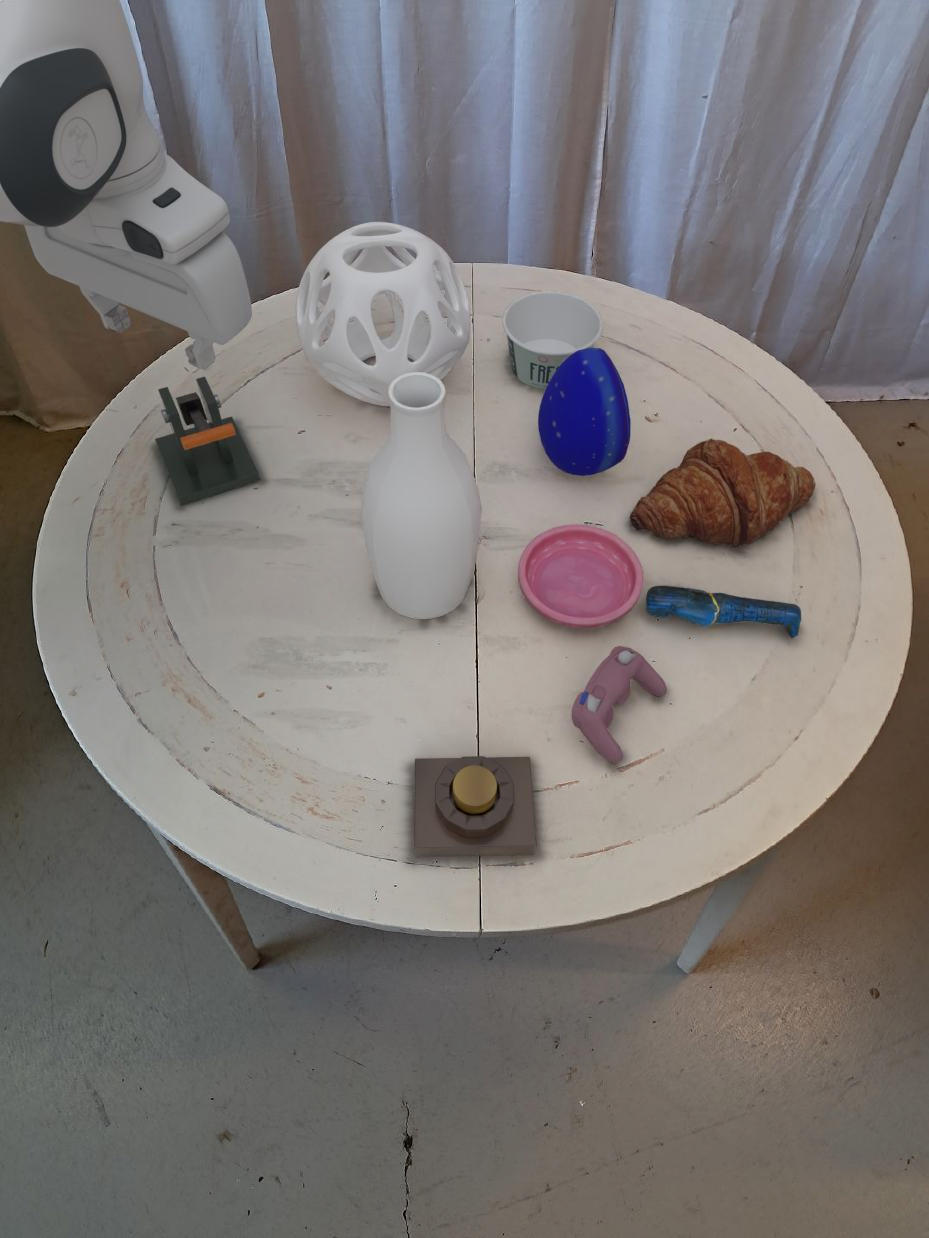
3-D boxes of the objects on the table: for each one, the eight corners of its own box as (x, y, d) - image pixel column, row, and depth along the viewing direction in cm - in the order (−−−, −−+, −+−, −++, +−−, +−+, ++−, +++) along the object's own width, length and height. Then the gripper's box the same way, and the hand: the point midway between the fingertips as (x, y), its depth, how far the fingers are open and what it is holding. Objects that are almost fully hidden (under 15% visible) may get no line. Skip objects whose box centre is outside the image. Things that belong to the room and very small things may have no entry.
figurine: (791, 620, 89) (641, 604, 90) (801, 589, 87) (647, 573, 88) (799, 649, 85) (642, 632, 87) (809, 617, 83) (648, 601, 84)
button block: (415, 857, 74) (413, 839, 70) (415, 769, 78) (414, 748, 75) (534, 854, 74) (538, 837, 71) (528, 767, 78) (531, 747, 75)
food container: (576, 328, 114) (583, 283, 109) (609, 388, 108) (618, 344, 102) (487, 343, 112) (489, 298, 107) (516, 405, 106) (519, 360, 100)
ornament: (633, 485, 98) (660, 378, 86) (557, 504, 96) (574, 398, 84) (593, 420, 104) (613, 311, 92) (521, 437, 102) (531, 329, 90)
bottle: (367, 547, 93) (344, 347, 72) (473, 540, 93) (480, 341, 73) (370, 634, 86) (346, 443, 65) (483, 627, 87) (495, 436, 66)
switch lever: (238, 442, 85) (231, 418, 83) (187, 457, 83) (178, 433, 82) (215, 409, 95) (208, 388, 94) (170, 423, 94) (162, 401, 93)
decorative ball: (481, 426, 103) (486, 296, 89) (311, 442, 101) (289, 312, 87) (456, 321, 115) (457, 190, 100) (302, 333, 113) (281, 202, 98)
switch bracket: (260, 480, 98) (243, 413, 90) (180, 505, 96) (156, 439, 88) (233, 423, 103) (215, 355, 95) (157, 446, 101) (132, 378, 93)
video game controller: (630, 681, 86) (612, 629, 81) (672, 691, 83) (655, 638, 78) (578, 756, 81) (555, 705, 77) (620, 770, 78) (599, 718, 74)
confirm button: (453, 814, 72) (453, 806, 71) (452, 774, 74) (452, 765, 73) (497, 813, 72) (498, 805, 71) (495, 773, 74) (495, 764, 73)
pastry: (690, 436, 103) (706, 382, 96) (816, 490, 98) (842, 437, 92) (624, 527, 95) (637, 475, 88) (758, 590, 90) (783, 540, 84)
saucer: (552, 658, 85) (556, 639, 82) (495, 566, 91) (497, 546, 89) (661, 614, 88) (668, 595, 86) (599, 528, 95) (603, 508, 92)
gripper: (-25, 171, 66) (45, 326, 78) (188, 252, 61) (229, 407, 72) (37, 134, 69) (95, 289, 81) (245, 209, 64) (276, 363, 75)
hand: (160, 345), depth 76 cm, fingers open, 8 cm apart
